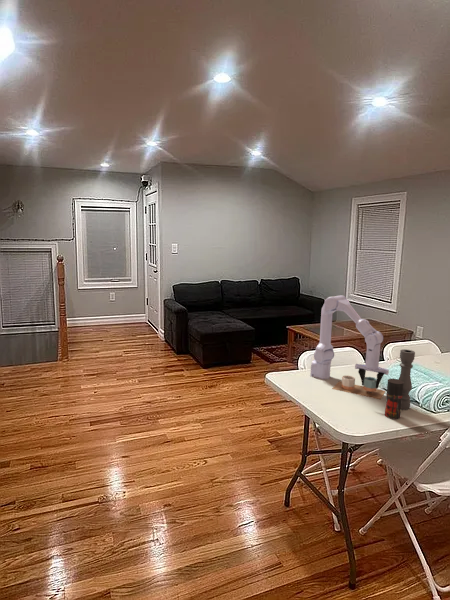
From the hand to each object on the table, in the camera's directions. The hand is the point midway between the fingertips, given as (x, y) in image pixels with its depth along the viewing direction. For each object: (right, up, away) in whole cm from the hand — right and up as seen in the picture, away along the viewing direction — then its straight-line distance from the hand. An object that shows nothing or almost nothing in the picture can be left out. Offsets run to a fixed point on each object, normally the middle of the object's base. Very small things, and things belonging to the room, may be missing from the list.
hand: (370, 386), depth 189 cm
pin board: (-4, -4, +3) cm, 6 cm away
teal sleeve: (0, -1, 0) cm, 1 cm away
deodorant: (+2, -8, -21) cm, 23 cm away
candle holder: (+10, -7, -12) cm, 17 cm away
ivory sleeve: (-9, -2, +6) cm, 10 cm away
